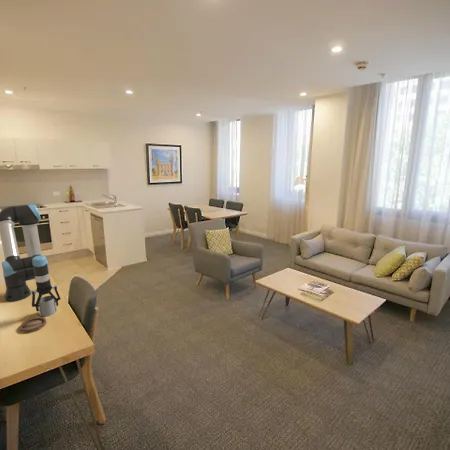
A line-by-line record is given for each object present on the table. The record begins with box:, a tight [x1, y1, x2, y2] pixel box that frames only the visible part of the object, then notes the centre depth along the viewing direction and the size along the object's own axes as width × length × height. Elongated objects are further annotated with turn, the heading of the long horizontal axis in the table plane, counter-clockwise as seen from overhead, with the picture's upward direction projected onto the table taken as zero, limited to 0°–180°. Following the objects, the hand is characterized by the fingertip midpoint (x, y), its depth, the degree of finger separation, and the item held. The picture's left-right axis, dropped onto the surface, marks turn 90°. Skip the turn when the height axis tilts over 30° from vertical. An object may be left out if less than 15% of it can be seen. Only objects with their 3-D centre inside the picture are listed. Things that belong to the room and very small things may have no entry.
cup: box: [39, 295, 57, 318], centre depth 184 cm, size 8×8×10 cm
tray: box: [19, 316, 47, 334], centre depth 172 cm, size 13×13×2 cm
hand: (48, 312), depth 185 cm, fingers closed on cup, 8 cm apart
